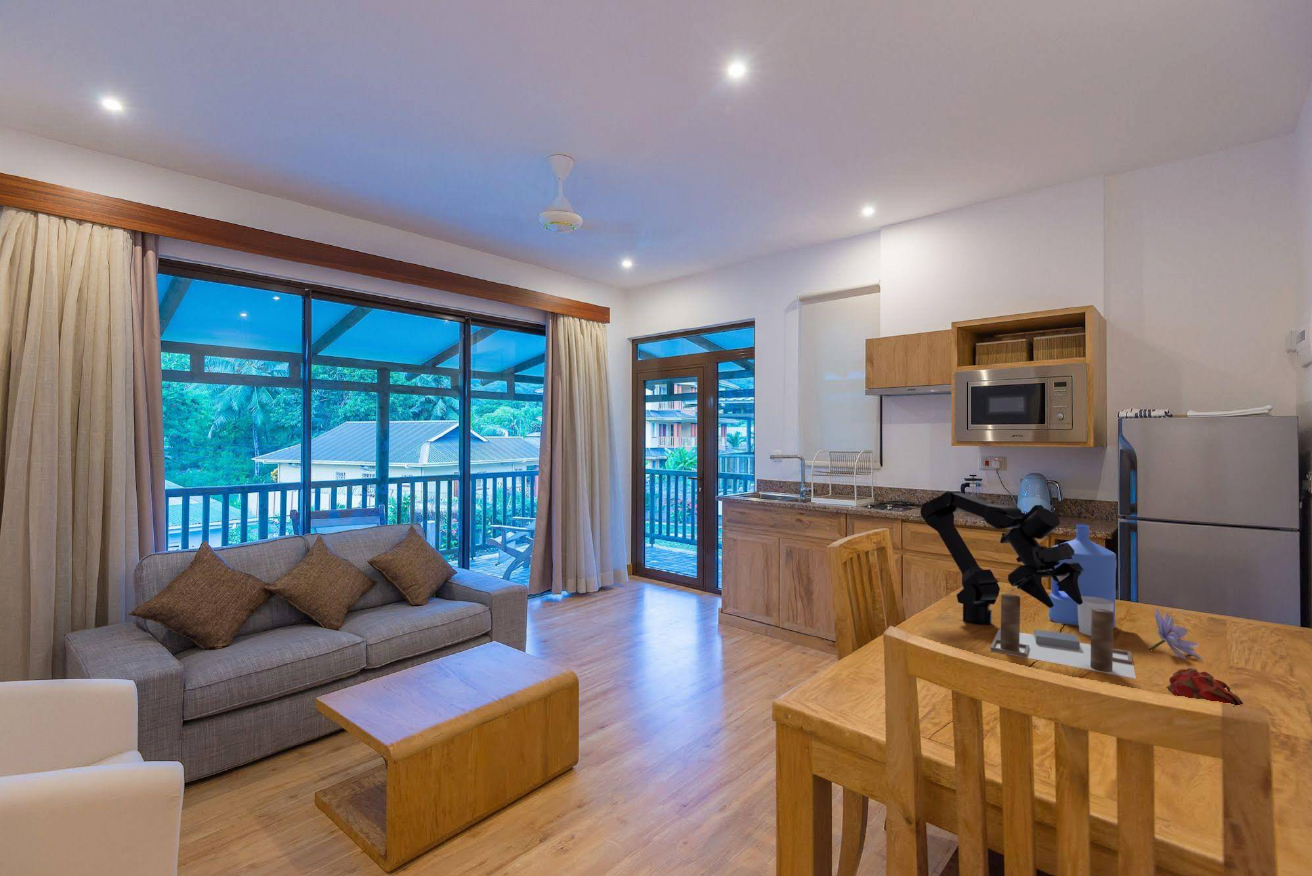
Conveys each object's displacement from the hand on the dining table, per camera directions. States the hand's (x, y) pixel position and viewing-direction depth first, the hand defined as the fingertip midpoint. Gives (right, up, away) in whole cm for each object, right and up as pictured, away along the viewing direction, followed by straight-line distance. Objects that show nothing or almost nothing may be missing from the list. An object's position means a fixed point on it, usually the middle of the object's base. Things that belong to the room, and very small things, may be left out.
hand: (1066, 605), depth 144 cm
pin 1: (-11, -12, +4) cm, 17 cm away
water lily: (+29, -14, +3) cm, 32 cm away
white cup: (+19, -13, +16) cm, 28 cm away
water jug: (+24, -13, +29) cm, 39 cm away
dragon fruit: (+9, -14, -26) cm, 31 cm away
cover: (+3, -12, +8) cm, 15 cm away
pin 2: (+2, -12, -8) cm, 15 cm away
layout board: (0, -13, +3) cm, 13 cm away
